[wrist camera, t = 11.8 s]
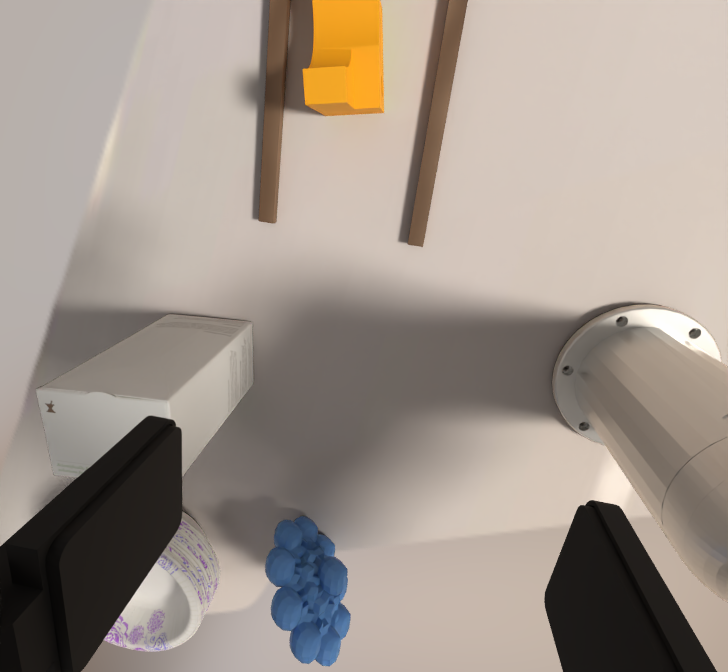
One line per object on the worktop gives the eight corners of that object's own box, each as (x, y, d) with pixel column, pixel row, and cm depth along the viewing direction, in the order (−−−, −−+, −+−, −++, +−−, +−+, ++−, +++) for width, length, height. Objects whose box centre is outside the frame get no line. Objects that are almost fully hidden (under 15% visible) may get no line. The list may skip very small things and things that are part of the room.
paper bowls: (139, 596, 54) (95, 663, 47) (77, 494, 50) (17, 551, 42) (253, 578, 51) (225, 648, 44) (197, 467, 47) (155, 524, 39)
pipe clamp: (384, 113, 33) (375, 100, 27) (326, 116, 34) (305, 104, 28) (380, -93, 29) (369, -161, 23) (314, -86, 30) (287, -150, 24)
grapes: (387, 561, 48) (377, 680, 37) (335, 583, 50) (311, 703, 39) (323, 480, 45) (291, 583, 34) (271, 507, 47) (225, 612, 36)
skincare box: (172, 374, 43) (46, 478, 29) (166, 307, 41) (26, 384, 26) (258, 384, 42) (173, 497, 28) (257, 317, 40) (164, 402, 25)
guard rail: (504, -147, 28) (515, -190, 24) (430, 246, 36) (431, 254, 33) (273, -171, 28) (254, -215, 25) (254, 218, 37) (238, 223, 34)
